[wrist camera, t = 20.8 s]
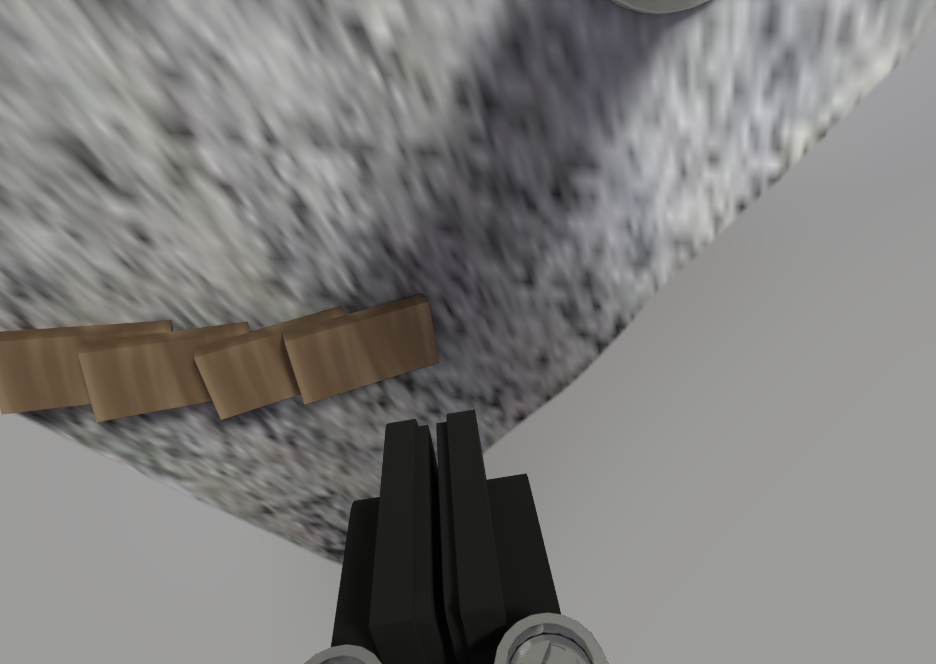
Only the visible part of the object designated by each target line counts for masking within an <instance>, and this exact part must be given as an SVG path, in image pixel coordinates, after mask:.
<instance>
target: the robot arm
mask: <svg viewBox="0 0 936 664" xmlns="http://www.w3.org/2000/svg"><path fill="white" fill-rule="evenodd" d="M611 1H613V2H614V3H616V4H617V5H619V6H622V7H624V8H627V9H630V10H633V11H635V12H641V13H650V14H663V13H673V12H678V11H682V10H686V9H691V8H693V7H695V6H698V5H700V4H702V3H704V2H707V1H709V0H611ZM436 428H437V452H438V466H437V461H436V457H435V452H434V448H433V443H432V439H431V434H430V430H429V426H428V425H424V426H418V423H417V421H416V419H412V420H406V421H400V422H394V423H387V425H386V431H385V442H384V454H383V466H382V477H381V489H380V497H376V498H370V499H364V500H358V501H354V502H353V504H352V507H351V512H350V518H349V525H348V532H347V539H346V546H345V553H344V560H343V567H342V574H341V581H340V588H339V595H338V602H337V609H336V615H335V623H334V629H333V636H332V643H331V648H328V649H326V650H324V651H322V652H320V653H318V654H316V655H314V656H313V657H312V658H311V659H309V660H308V661H307V662H306V663H304V664H609V663H608V661H607V659H606V657H605V655H604V652H603V650H602V648H601V647H600V645H599V643H598V642H597V640H596V639H595V637H594V636H593V634H592V633H591V632H590V631H589V630H588V629H587V628H585V627H584V626H583V625H582V624H581V623H580V622H578V621H576V620H573V619H572V618H569V617H567V616H565V615H561V612H560V608H559V604H558V599H557V595H556V591H555V587H554V583H553V579H552V575H551V570H550V566H549V563H548V558H547V554H546V550H545V546H544V541H543V538H542V533H541V529H540V525H539V521H538V517H537V512H536V508H535V504H534V500H533V496H532V492H531V488H530V484H529V480H528V476H527V474H520V475H514V476H508V477H502V478H496V479H489V480H486V474H485V468H484V462H483V456H482V450H481V443H480V437H479V431H478V425H477V419H476V413H475V410H469V411H463V412H456V413H450V414H447V422H443V423H437V424H436Z"/></svg>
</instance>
